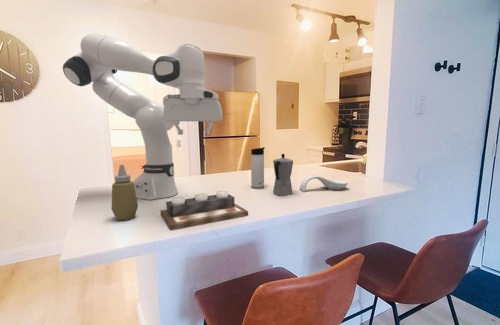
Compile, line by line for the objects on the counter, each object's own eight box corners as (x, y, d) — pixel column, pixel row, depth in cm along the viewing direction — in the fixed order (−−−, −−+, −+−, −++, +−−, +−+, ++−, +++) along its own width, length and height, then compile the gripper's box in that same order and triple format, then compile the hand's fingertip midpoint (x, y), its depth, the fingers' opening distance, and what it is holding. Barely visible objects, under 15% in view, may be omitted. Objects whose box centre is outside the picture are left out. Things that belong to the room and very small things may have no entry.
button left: (173, 209, 87) (172, 200, 86) (170, 206, 90) (170, 197, 90) (186, 207, 89) (186, 198, 88) (183, 204, 92) (182, 195, 92)
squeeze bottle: (111, 223, 84) (106, 167, 82) (113, 215, 92) (108, 164, 89) (138, 219, 88) (135, 165, 85) (138, 212, 95) (135, 162, 92)
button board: (170, 230, 78) (169, 213, 78) (160, 214, 92) (159, 200, 92) (248, 215, 91) (247, 201, 90) (228, 203, 105) (228, 191, 104)
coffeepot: (278, 189, 128) (278, 152, 125) (297, 191, 124) (297, 152, 121) (265, 197, 114) (265, 155, 112) (286, 199, 110) (286, 156, 108)
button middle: (197, 206, 90) (196, 197, 90) (193, 202, 94) (193, 194, 94) (209, 204, 92) (209, 195, 92) (205, 201, 96) (205, 193, 96)
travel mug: (263, 189, 128) (263, 148, 125) (250, 188, 129) (249, 147, 127) (265, 186, 134) (265, 146, 131) (252, 185, 135) (252, 146, 133)
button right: (219, 202, 94) (218, 194, 94) (214, 199, 98) (214, 191, 98) (230, 200, 96) (230, 192, 96) (225, 198, 100) (225, 190, 100)
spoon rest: (337, 185, 136) (338, 171, 135) (352, 190, 125) (353, 175, 124) (296, 189, 129) (296, 174, 128) (308, 194, 118) (308, 179, 117)
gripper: (159, 93, 89) (161, 134, 90) (220, 93, 89) (221, 134, 90) (165, 95, 95) (167, 134, 97) (222, 95, 95) (223, 134, 97)
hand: (193, 134), depth 94 cm, fingers open, 8 cm apart
